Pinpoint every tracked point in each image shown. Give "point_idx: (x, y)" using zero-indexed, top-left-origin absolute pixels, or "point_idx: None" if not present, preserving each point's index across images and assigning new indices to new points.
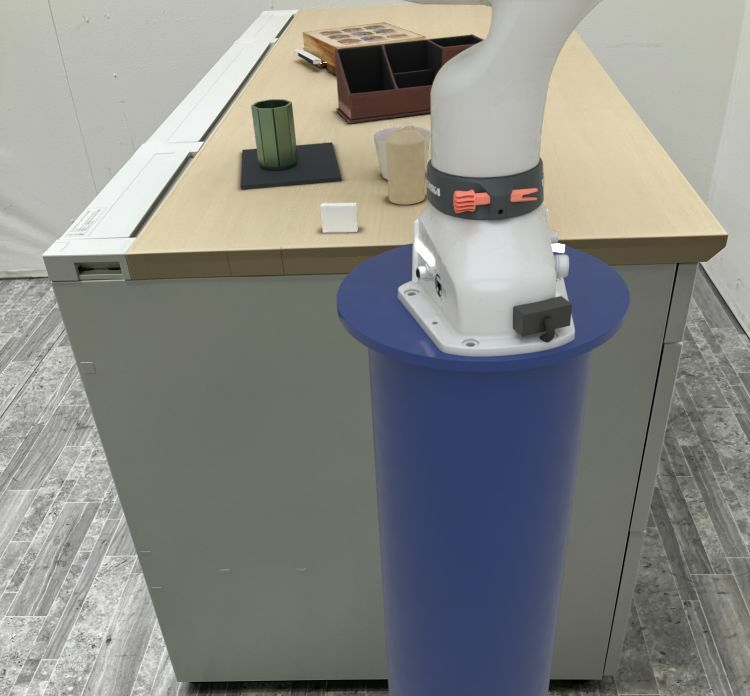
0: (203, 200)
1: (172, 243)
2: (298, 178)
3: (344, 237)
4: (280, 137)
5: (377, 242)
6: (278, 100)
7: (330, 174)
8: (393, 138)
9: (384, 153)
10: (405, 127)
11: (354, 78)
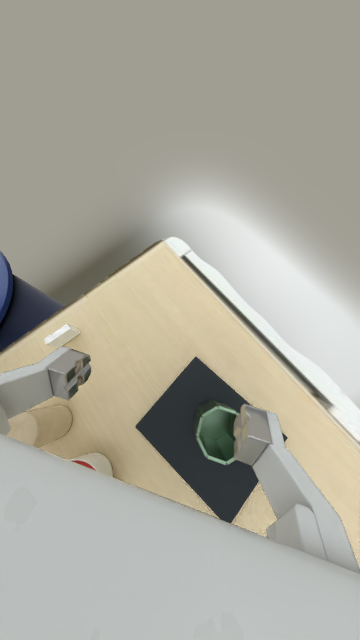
0: (201, 323)
1: (152, 264)
2: (166, 400)
3: None
4: (197, 415)
5: (34, 337)
6: (231, 457)
7: (148, 426)
8: (20, 417)
9: (83, 456)
10: None
11: None
